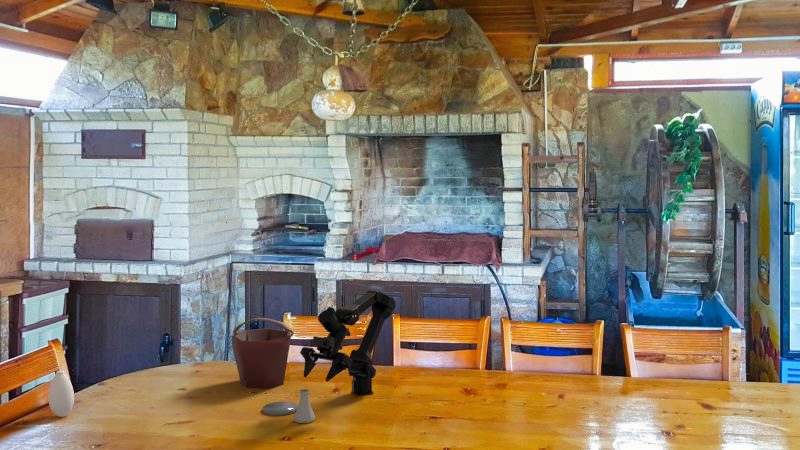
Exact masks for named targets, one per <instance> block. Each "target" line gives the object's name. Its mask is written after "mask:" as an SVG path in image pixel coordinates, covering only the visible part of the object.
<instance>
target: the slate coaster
mask: <svg viewBox="0 0 800 450" xmlns="http://www.w3.org/2000/svg"><path fill="white" fill-rule="evenodd" d="M298 405H299V404H297V402H293V401H275V402H269V403H266V404H265V405H264V406H263V407H262V412H263V413H264V415H268V416H272V417H273V416H274V417H281V416H282V417H283V416H289V415H292V414H296V412H297V409H298Z"/></svg>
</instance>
